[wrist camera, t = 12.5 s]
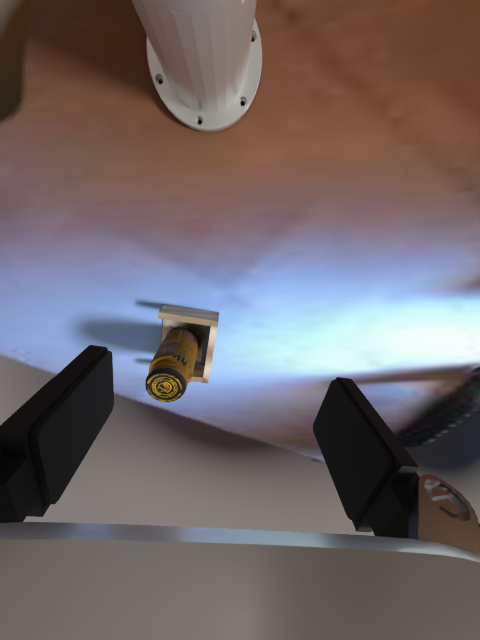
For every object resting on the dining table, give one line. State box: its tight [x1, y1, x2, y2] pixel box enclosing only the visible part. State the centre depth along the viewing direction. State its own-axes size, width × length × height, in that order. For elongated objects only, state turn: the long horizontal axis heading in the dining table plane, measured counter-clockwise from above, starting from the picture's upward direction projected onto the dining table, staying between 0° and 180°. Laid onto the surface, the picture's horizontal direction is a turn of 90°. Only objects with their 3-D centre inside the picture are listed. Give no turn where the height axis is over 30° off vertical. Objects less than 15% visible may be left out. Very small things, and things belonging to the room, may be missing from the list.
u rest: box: [158, 304, 219, 383], centre depth 39 cm, size 12×9×4 cm
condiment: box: [146, 319, 207, 402], centre depth 35 cm, size 7×8×12 cm
